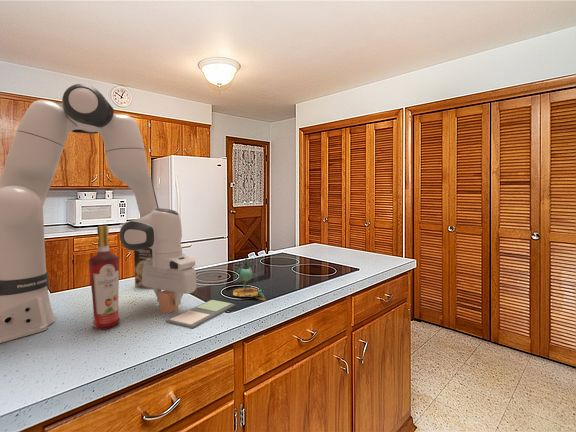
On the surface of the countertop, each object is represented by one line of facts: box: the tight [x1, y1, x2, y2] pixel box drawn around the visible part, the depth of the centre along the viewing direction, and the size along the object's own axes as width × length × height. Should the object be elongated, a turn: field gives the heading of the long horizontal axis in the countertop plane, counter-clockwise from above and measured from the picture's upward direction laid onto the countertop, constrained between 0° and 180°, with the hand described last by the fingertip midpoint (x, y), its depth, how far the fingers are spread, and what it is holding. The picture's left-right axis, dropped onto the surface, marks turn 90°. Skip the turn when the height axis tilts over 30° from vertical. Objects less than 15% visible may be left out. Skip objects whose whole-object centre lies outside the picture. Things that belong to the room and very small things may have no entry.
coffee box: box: [133, 248, 153, 289], centre depth 130 cm, size 9×6×16 cm
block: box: [158, 290, 179, 314], centre depth 105 cm, size 4×4×6 cm
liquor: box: [88, 225, 121, 330], centre depth 91 cm, size 7×7×28 cm
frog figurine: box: [232, 257, 267, 301], centre depth 119 cm, size 10×18×15 cm, turn 34°
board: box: [165, 299, 236, 329], centre depth 101 cm, size 20×10×1 cm, turn 154°
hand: (168, 303), depth 105 cm, fingers open, 5 cm apart
